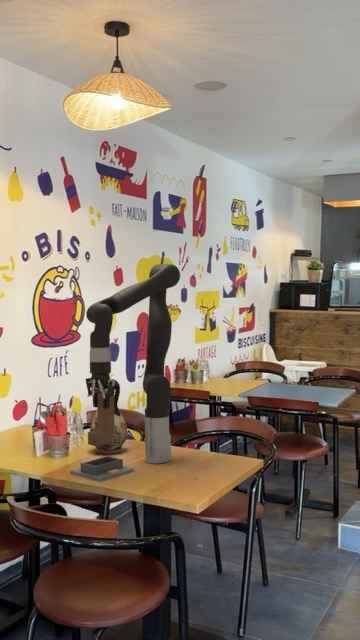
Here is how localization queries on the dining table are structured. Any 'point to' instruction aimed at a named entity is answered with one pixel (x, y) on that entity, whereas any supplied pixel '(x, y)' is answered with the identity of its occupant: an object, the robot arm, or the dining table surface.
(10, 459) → the dining table surface
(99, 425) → the wooden block
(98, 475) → the pocket plate
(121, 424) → the ceramic jug
